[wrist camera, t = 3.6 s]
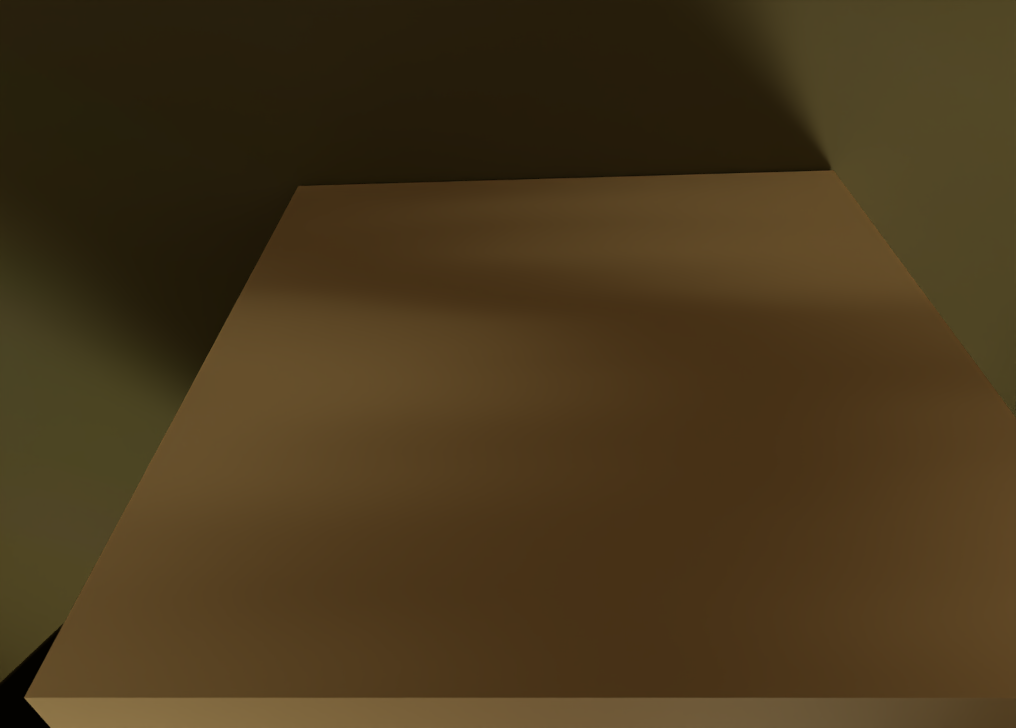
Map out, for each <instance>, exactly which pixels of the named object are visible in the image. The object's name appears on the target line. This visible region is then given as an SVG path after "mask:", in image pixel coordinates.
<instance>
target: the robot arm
mask: <svg viewBox="0 0 1016 728" xmlns="http://www.w3.org/2000/svg"><path fill="white" fill-rule="evenodd" d="M63 624H64V623H63ZM63 624H62V625H61V626H60V627H59V628H58V629H57V630H56V631H55V632H54V633H53V634H52V635H51V636H49V637H48V638H47V639H46V640H45V641H44V642H43V643H42V644H41V645H40V646H39V647H38V648H37V649H36V650H35V651H34V652H32V653H31V654H30V655H29V656H28V657H27V658H26V659H25V660H24V661H23V662H22V663H21V664H20V665H19V666H18V667H16V668H15V669H14V670H13V671H12V672H11V673H10V674H9V675H8V676H7V677H6V678H5V679H4V680H3V681H2V682H0V728H50V726H49V725H48V724H47V723H46V722H45V721H44V720H43V719H42V717H41V716H40V715H39V714H38V713H37V712H36V711H35V709H34V708H33V707H32V706H31V705H30V704H29V703H28V702H27V700H26V699H25V698H24V697H25V695H26V693H27V691H28V689H29V688H30V686H31V684H32V682H33V680H34V678H35V676H36V674H37V673H38V671H39V669H40V667H41V665H42V663H43V661H44V660H45V658H46V656H47V654H48V652H49V650H50V648H51V647H52V645H53V643H54V641H55V639H56V637H57V635H58V633H59V632H60V630H61V628H62V626H63Z"/></svg>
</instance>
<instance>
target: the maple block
mask: <svg viewBox="0 0 1016 728" xmlns="http://www.w3.org/2000/svg"><path fill="white" fill-rule="evenodd" d="M24 698H25V699H26V700H27V702H28V703H29V704H30V705H31V706H32V707H33V708H34V709H35V711H36V712H37V713H38V714H39V715H40V716H41V717H42V719H43V720H44V721H45V722H46V723H47V724H48V725H49V726H50V728H1016V417H1015V416H1014V415H1013V413H1012V412H1011V411H1010V409H1009V408H1008V407H1007V405H1006V404H1005V402H1004V401H1003V400H1002V398H1001V397H1000V396H999V394H998V393H997V392H996V390H995V389H994V388H993V386H992V385H991V383H990V382H989V381H988V379H987V378H986V377H985V375H984V374H983V373H982V371H981V370H980V369H979V367H978V366H977V364H976V363H975V362H974V360H973V359H972V358H971V356H970V355H969V354H968V352H967V351H966V350H965V348H964V347H963V345H962V344H961V343H960V341H959V340H958V339H957V337H956V336H955V335H954V333H953V332H952V331H951V329H950V328H949V326H948V325H947V324H946V322H945V321H944V320H943V318H942V317H941V316H940V314H939V313H938V312H937V310H936V309H935V307H934V306H933V305H932V303H931V302H930V301H929V299H928V298H927V297H926V295H925V294H924V293H923V291H922V290H921V288H920V287H919V286H918V284H917V283H916V282H915V280H914V279H913V278H912V276H911V275H910V273H909V272H908V271H907V269H906V268H905V267H904V265H903V264H902V263H901V261H900V260H899V259H898V257H897V256H896V254H895V253H894V252H893V250H892V249H891V248H890V246H889V245H888V244H887V242H886V241H885V240H884V238H883V237H882V235H881V234H880V233H879V231H878V230H877V229H876V227H875V226H874V225H873V223H872V222H871V221H870V219H869V218H868V216H867V215H866V214H865V212H864V211H863V210H862V208H861V207H860V206H859V204H858V203H857V202H856V200H855V199H854V197H853V196H852V195H851V193H850V192H849V191H848V189H847V188H846V187H845V185H844V184H843V183H842V181H841V180H840V178H839V177H838V176H837V174H836V173H835V172H834V170H831V171H797V172H762V173H728V174H693V175H659V176H624V177H590V178H555V179H521V180H486V181H452V182H417V183H383V184H348V185H314V186H298V187H297V189H296V191H295V193H294V195H293V197H292V199H291V200H290V202H289V204H288V206H287V208H286V210H285V212H284V214H283V215H282V217H281V219H280V221H279V223H278V225H277V227H276V228H275V230H274V232H273V234H272V236H271V238H270V240H269V242H268V243H267V245H266V247H265V249H264V251H263V253H262V255H261V256H260V258H259V260H258V262H257V264H256V266H255V268H254V270H253V271H252V273H251V275H250V277H249V279H248V281H247V283H246V284H245V286H244V288H243V290H242V292H241V294H240V296H239V298H238V299H237V301H236V303H235V305H234V307H233V309H232V311H231V312H230V314H229V316H228V318H227V320H226V322H225V324H224V326H223V327H222V329H221V331H220V333H219V335H218V337H217V339H216V340H215V342H214V344H213V346H212V348H211V350H210V352H209V354H208V355H207V357H206V359H205V361H204V363H203V365H202V367H201V368H200V370H199V372H198V374H197V376H196V378H195V380H194V382H193V383H192V385H191V387H190V389H189V391H188V393H187V395H186V396H185V398H184V400H183V402H182V404H181V406H180V408H179V409H178V411H177V413H176V415H175V417H174V419H173V421H172V423H171V424H170V426H169V428H168V430H167V432H166V434H165V436H164V437H163V439H162V441H161V443H160V445H159V447H158V449H157V451H156V452H155V454H154V456H153V458H152V460H151V462H150V464H149V465H148V467H147V469H146V471H145V473H144V475H143V477H142V479H141V480H140V482H139V484H138V486H137V488H136V490H135V492H134V493H133V495H132V497H131V499H130V501H129V503H128V505H127V507H126V508H125V510H124V512H123V514H122V516H121V518H120V520H119V521H118V523H117V525H116V527H115V529H114V531H113V533H112V535H111V536H110V538H109V540H108V542H107V544H106V546H105V548H104V549H103V551H102V553H101V555H100V557H99V559H98V561H97V563H96V564H95V566H94V568H93V570H92V572H91V574H90V576H89V577H88V579H87V581H86V583H85V585H84V587H83V589H82V591H81V592H80V594H79V596H78V598H77V600H76V602H75V604H74V605H73V607H72V609H71V611H70V613H69V615H68V617H67V619H66V620H65V622H64V624H63V626H62V628H61V630H60V632H59V633H58V635H57V637H56V639H55V641H54V643H53V645H52V647H51V648H50V650H49V652H48V654H47V656H46V658H45V660H44V661H43V663H42V665H41V667H40V669H39V671H38V673H37V674H36V676H35V678H34V680H33V682H32V684H31V686H30V688H29V689H28V691H27V693H26V695H25V697H24Z"/></svg>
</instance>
